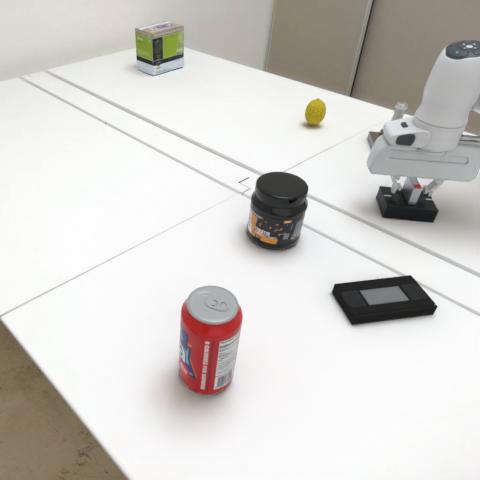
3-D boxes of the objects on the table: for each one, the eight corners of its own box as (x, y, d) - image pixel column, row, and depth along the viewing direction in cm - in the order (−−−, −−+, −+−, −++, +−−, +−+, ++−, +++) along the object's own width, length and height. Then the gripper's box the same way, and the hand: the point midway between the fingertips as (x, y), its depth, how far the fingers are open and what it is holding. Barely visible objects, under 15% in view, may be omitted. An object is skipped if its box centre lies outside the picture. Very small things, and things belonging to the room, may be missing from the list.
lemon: (301, 128, 130) (307, 101, 125) (303, 120, 134) (309, 93, 129) (321, 130, 129) (328, 103, 124) (323, 122, 133) (329, 96, 128)
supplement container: (235, 233, 92) (241, 182, 85) (268, 213, 97) (277, 164, 90) (276, 259, 86) (287, 207, 78) (310, 237, 91) (323, 185, 84)
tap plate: (423, 201, 101) (428, 189, 99) (433, 222, 95) (439, 210, 93) (375, 197, 102) (380, 185, 100) (382, 218, 96) (387, 205, 94)
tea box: (166, 61, 177) (166, 19, 168) (184, 67, 171) (185, 25, 162) (136, 69, 169) (134, 26, 160) (153, 76, 163) (152, 32, 154)
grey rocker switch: (401, 190, 99) (407, 173, 96) (409, 191, 99) (416, 174, 96) (407, 204, 95) (414, 187, 92) (415, 205, 94) (422, 188, 92)
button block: (405, 141, 123) (410, 127, 121) (412, 155, 117) (418, 141, 115) (366, 138, 125) (371, 124, 122) (372, 152, 119) (376, 138, 116)
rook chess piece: (389, 126, 131) (398, 99, 126) (404, 131, 128) (414, 104, 123) (381, 130, 129) (390, 103, 124) (396, 136, 126) (406, 108, 121)
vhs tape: (331, 292, 79) (333, 283, 78) (407, 283, 81) (411, 275, 80) (351, 325, 73) (355, 316, 72) (433, 314, 75) (437, 306, 74)
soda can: (224, 406, 62) (235, 335, 53) (170, 387, 65) (172, 316, 55) (238, 361, 68) (250, 290, 59) (188, 346, 70) (192, 275, 61)
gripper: (487, 129, 88) (458, 190, 97) (376, 122, 91) (357, 181, 100) (500, 144, 83) (468, 206, 92) (382, 135, 86) (362, 197, 95)
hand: (410, 193), depth 96 cm, fingers open, 5 cm apart
